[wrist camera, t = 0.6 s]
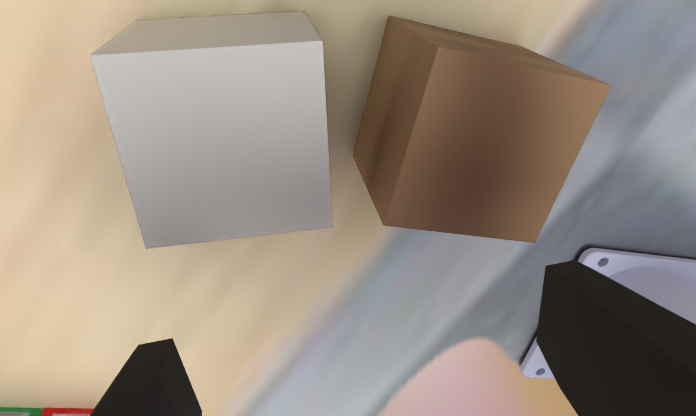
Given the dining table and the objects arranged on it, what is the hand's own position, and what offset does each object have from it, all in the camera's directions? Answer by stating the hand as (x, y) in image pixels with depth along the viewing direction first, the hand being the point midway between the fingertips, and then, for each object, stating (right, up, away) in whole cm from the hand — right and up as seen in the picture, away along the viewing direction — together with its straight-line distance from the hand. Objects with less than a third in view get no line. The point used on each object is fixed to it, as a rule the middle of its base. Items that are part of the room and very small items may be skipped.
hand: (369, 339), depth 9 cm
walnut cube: (+3, +6, +8) cm, 11 cm away
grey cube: (-4, +6, +7) cm, 10 cm away
